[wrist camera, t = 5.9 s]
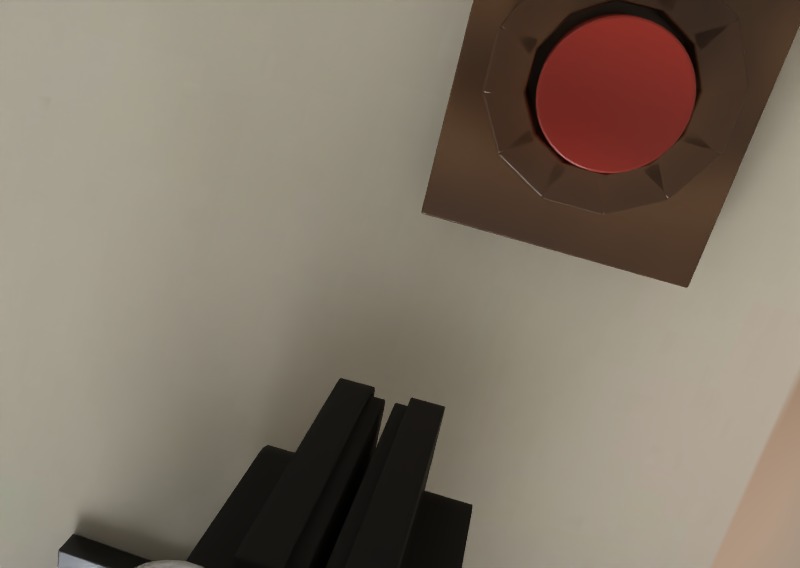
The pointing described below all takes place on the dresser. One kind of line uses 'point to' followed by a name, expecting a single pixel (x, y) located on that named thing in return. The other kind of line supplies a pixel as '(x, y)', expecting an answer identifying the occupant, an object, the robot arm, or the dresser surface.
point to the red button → (615, 93)
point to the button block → (591, 191)
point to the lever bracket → (94, 555)
